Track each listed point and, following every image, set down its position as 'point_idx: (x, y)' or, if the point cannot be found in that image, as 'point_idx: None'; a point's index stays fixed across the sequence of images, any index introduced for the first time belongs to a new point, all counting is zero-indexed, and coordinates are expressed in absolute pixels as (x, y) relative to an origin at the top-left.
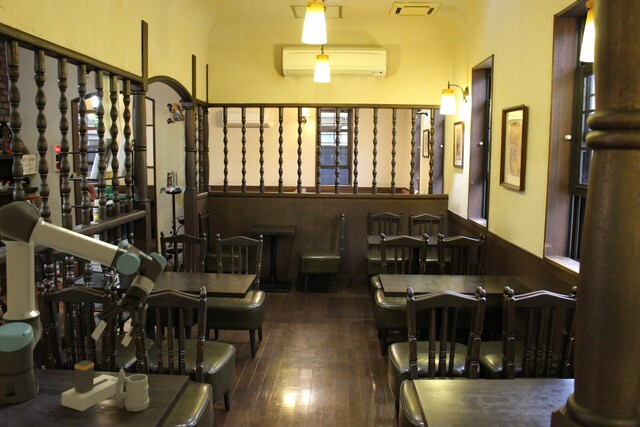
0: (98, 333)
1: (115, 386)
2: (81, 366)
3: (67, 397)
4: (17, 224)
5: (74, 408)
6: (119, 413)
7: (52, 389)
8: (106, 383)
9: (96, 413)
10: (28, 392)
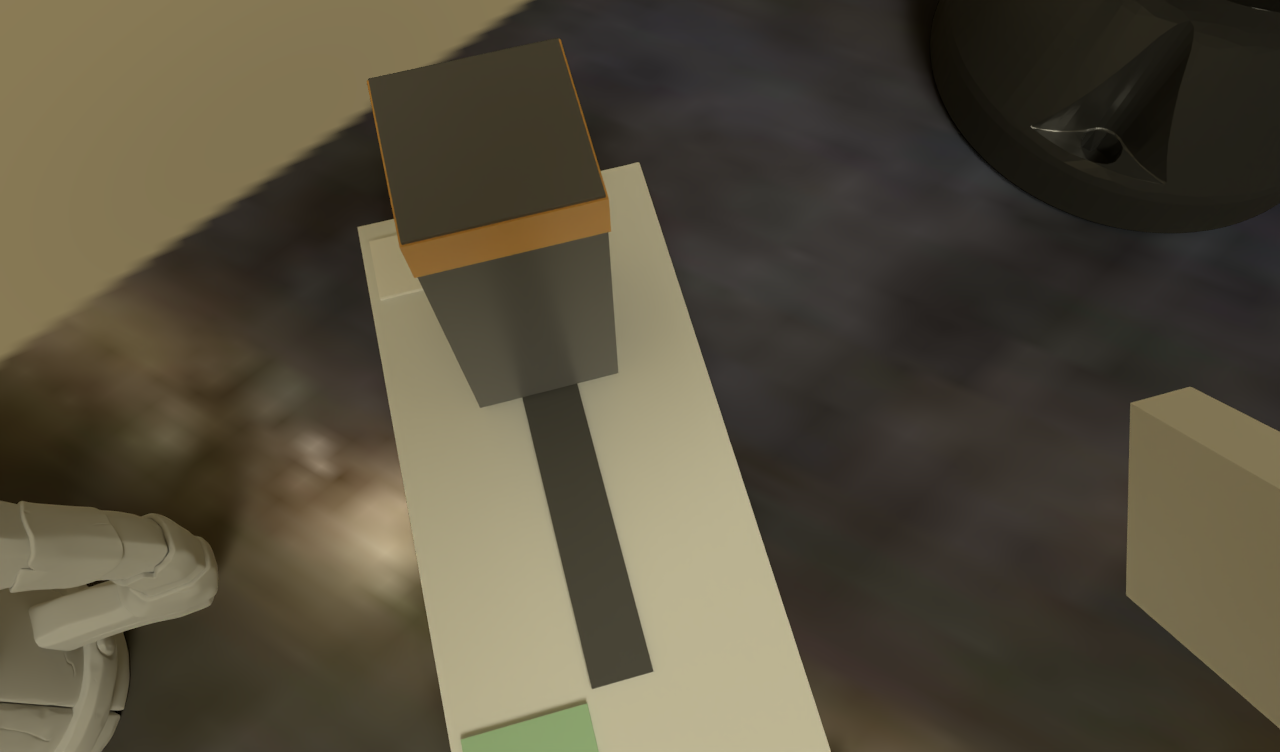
0: (1270, 628)
1: (153, 514)
2: (421, 72)
3: None
4: None
5: None
6: (60, 484)
7: (1045, 317)
8: (514, 605)
9: (247, 346)
10: (966, 58)
